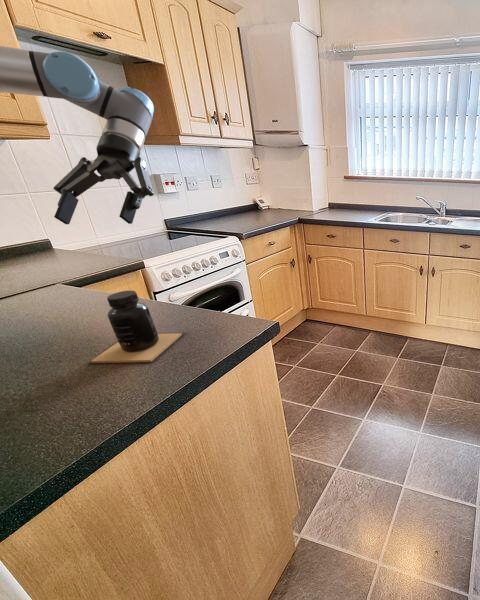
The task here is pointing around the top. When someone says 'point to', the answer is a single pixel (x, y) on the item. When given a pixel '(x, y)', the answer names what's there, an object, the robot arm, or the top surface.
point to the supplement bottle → (131, 322)
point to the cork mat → (147, 355)
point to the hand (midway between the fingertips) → (93, 220)
